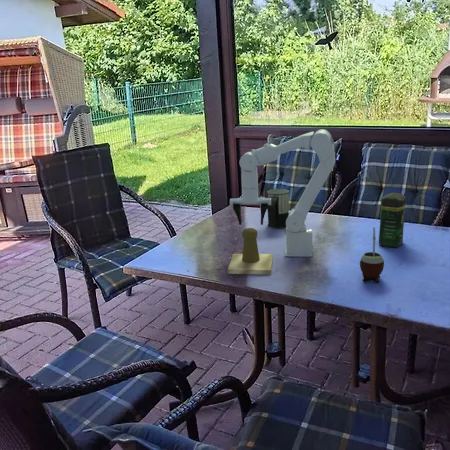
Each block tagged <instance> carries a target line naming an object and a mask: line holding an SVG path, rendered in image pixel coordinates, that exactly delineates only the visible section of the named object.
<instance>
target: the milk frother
mask: <svg viewBox="0 0 450 450" xmlns="http://www.w3.org/2000/svg"><path fill="white" fill-rule="evenodd" d="M266 193H267V198H271V205H268V208H267V210H266V211H267V226H268V227H269V228H272V229H286V227H287V226H286V220H287V218H288V215H289V212H290V209H289V208H290V205H289V203H290V202H289V201H290V199H289V197H290V190H288V189H286V188H274V189H269V190H267V191H266ZM305 226H306V227H307V225H306V224H305Z"/></svg>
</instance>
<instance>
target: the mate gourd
mask: <svg viewBox="0 0 450 450" xmlns="http://www.w3.org/2000/svg"><path fill="white" fill-rule="evenodd" d="M372 229H373V230H372V234H373V235H372V240H373V241H372V242H373V243H372V251H367V252H365V253H363V254H362V255H361V257H360V260H359V268H360V272H362V273H361V274H362V282H370V281H372V282H373V283H376V284H379V282H380V281H379V278H381V275H382V273H383V270H384V267H385V260H384V257H383V255H382V254H380V253H378V252H376V228H375V227H373V228H372Z"/></svg>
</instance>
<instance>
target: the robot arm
mask: <svg viewBox="0 0 450 450" xmlns="http://www.w3.org/2000/svg"><path fill="white" fill-rule="evenodd" d="M334 141H335V140H334V139H333V136H332V134H331V133H330V132H329V131H328V130H327V129H323V128H322V129H318V130H316V131H309V132H307V133H304V134H300V135H298V136H296V137H294V138H292V139H290V140H286V141H285V142H282V143H280V144H278V145H276V144H273V143H265V144H263V146H262V147H259V148H257V149H255V148H254V149H253V148H252V149H251V151H246V152H245V153H244V154H243V155H241V157H240V159H239V161H238V162H239V166H240V169H241V175H240V176H241V178H240V179H241V197H237V198H230V199H229V206H232V210H233V211H234V213H235V216H236V218H237V221H238V224H239V226H241V225H242V223H243V221H242V220H243V218H242V205H243V206H245V205H252V206H253V205H254V206H255V205H259V206H260V226H262V225H264V218H265V215H266V214H267V213H266V212H267V211H268V210H267V208H268V205H271V198H268V197H259V175H258V167H262V166H264V165H266V164H269V163H272V162H275V161H277V160H278V159H279V156H280V155H282V154H286V153H288V152H291V151H295V150H298V149H300V148H301V149H302V148H303V149H306V150H310V148H311V149H312V150H313V152H314V153H315V154H316V155H317V157H318V161H319V163H318V165H317V167H316V169H315V170H314V173H313V174H312V176H311V178H310V180H309V181H308V183H307V186H306V188H305V189H304V191H303V193H302V194H301V196H300V198H299V200H298V202H296V203H297V204H296V205H295V206H294V207H293V208H291V209H290V210H289V215H288V218H287V220H286V226H287V227H286V228H285V249H284V257H297V258H299V257H301V258H303V257H307V258H308V257H310V258H311V257H313V250H314V244H313V228H308V227H307V225H306V224H305V222H306V220H307V216H308V214H309V211H310V209H311V207H312V206H313V205H314V204H313V203H314V202H315V201H316V199H317V196H318V195H319V193H320V191H321V189H322V188H323V186H324V184H325V182H326V181H327V179H328V177H329V175H330V174H331V172H332V170H333V168H334V166H335V165H336V164H335V163H336V154H335V144H334V143H335V142H334ZM305 225H306V226H305Z"/></svg>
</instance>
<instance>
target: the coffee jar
mask: <svg viewBox="0 0 450 450" xmlns="http://www.w3.org/2000/svg"><path fill="white" fill-rule="evenodd" d="M406 200H407V197H406V196H405V195H404V194H402V193H400V192H399V193H398V192H390V193H388V194H386V195H384V196H383V197H382V198H381V199H380V201H381V202H380V219H379V220H380V221H379V232H378V234H379V236H378V244H379V246H380V245H381V246H384V247H385V248H398V247H400V246H401V245H402V243H403V241H404V225H405V213H406V203H407V201H406Z"/></svg>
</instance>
